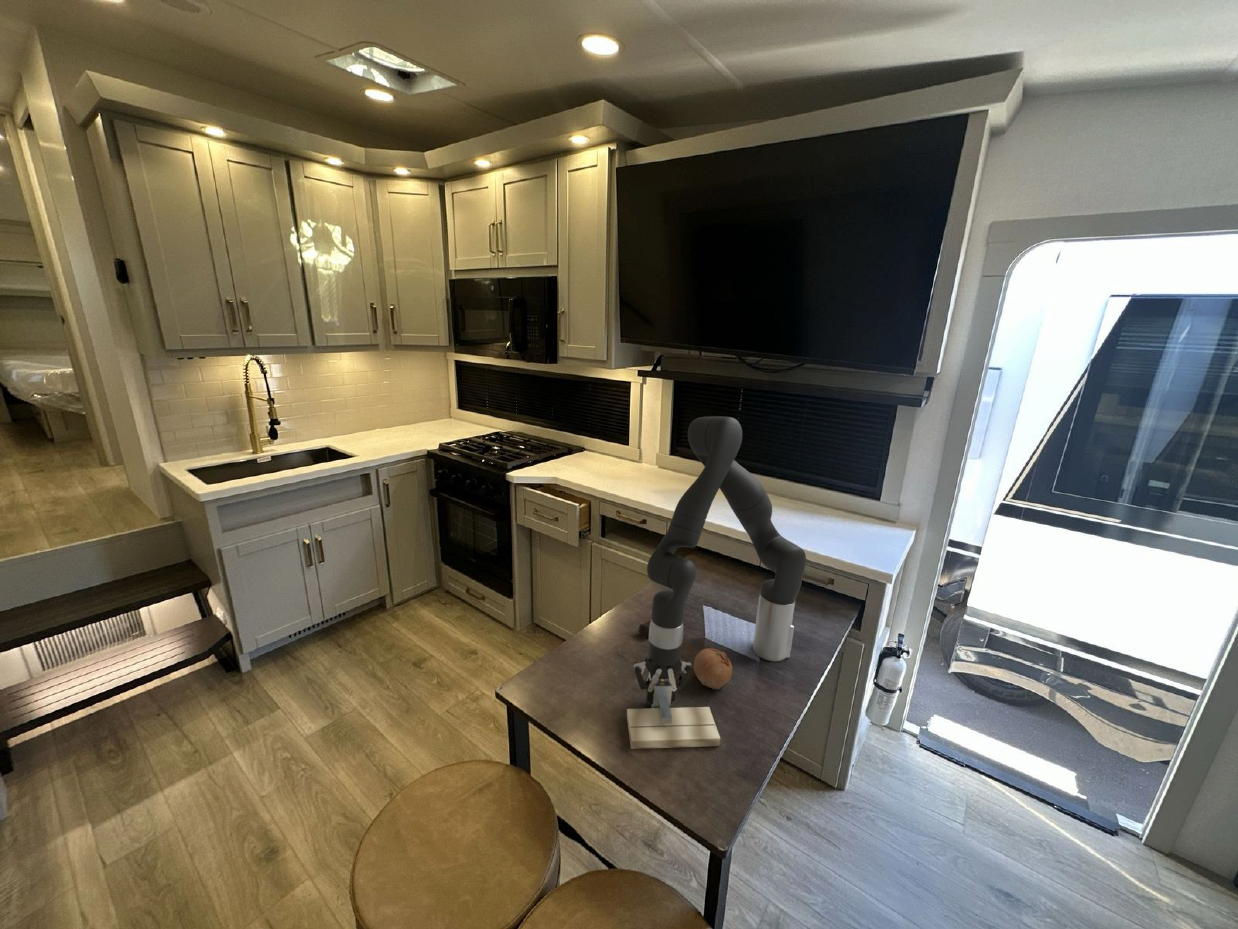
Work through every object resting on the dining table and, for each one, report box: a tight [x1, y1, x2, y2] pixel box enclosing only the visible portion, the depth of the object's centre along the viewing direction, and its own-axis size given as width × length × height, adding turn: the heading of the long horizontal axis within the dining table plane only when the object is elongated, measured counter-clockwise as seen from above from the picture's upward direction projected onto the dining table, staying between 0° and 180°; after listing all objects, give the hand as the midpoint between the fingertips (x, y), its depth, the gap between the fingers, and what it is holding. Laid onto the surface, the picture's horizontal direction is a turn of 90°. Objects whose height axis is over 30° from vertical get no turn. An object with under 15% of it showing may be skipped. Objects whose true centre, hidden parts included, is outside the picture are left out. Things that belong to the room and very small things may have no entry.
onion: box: [693, 647, 733, 691], centre depth 122 cm, size 10×9×10 cm
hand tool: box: [638, 619, 651, 639], centre depth 147 cm, size 19×4×5 cm, turn 135°
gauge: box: [650, 678, 672, 723], centre depth 110 cm, size 4×10×8 cm, turn 5°
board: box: [626, 706, 721, 750], centre depth 108 cm, size 19×9×2 cm, turn 95°
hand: (659, 701), depth 114 cm, fingers closed on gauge, 4 cm apart
